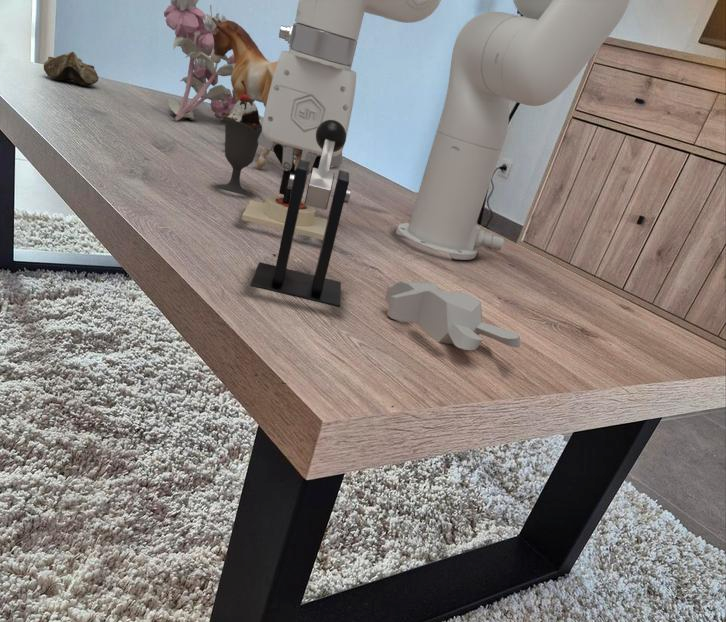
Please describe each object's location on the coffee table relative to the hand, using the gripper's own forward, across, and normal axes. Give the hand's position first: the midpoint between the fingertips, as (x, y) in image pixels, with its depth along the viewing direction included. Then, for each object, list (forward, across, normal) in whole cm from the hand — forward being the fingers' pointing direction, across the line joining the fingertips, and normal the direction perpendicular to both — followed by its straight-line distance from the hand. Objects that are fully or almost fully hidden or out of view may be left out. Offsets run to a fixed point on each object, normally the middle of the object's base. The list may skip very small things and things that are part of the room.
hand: (289, 201), depth 88 cm
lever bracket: (+4, +3, -22) cm, 22 cm away
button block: (+4, 0, 0) cm, 4 cm away
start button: (+2, 0, 0) cm, 2 cm away
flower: (+4, -23, +67) cm, 71 cm away
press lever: (-8, +3, -17) cm, 19 cm away
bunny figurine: (+4, +18, -25) cm, 31 cm away
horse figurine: (+4, -11, +35) cm, 37 cm away
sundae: (+4, -9, +13) cm, 16 cm away
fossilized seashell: (+4, -52, +68) cm, 85 cm away
